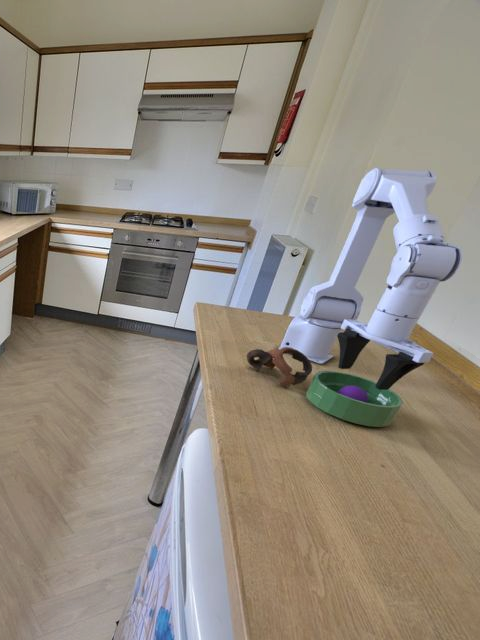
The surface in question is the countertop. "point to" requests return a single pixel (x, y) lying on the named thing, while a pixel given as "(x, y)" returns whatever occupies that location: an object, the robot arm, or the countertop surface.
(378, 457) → the countertop surface
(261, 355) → the brown curved loop
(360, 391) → the ball
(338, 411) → the bowl
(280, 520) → the countertop surface
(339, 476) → the countertop surface
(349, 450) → the countertop surface
